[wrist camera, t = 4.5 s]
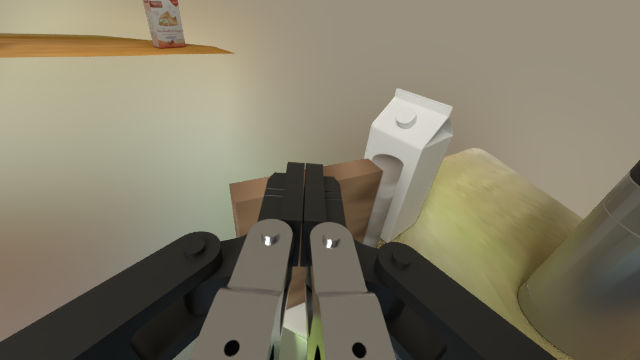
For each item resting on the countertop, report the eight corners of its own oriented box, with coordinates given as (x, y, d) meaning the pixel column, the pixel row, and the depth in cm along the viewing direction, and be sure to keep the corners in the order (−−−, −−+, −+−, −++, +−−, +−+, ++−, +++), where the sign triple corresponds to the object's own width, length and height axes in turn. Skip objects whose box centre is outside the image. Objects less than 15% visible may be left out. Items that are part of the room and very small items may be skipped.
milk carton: (379, 199, 44) (413, 85, 33) (415, 223, 39) (467, 102, 29) (350, 215, 40) (378, 91, 29) (387, 244, 35) (435, 112, 25)
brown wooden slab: (359, 259, 31) (389, 152, 23) (371, 276, 29) (410, 167, 21) (245, 303, 26) (228, 181, 17) (251, 327, 24) (236, 205, 15)
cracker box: (160, 48, 126) (147, -3, 114) (153, 46, 128) (140, -5, 116) (186, 47, 136) (177, -1, 124) (179, 45, 138) (170, -2, 126)
